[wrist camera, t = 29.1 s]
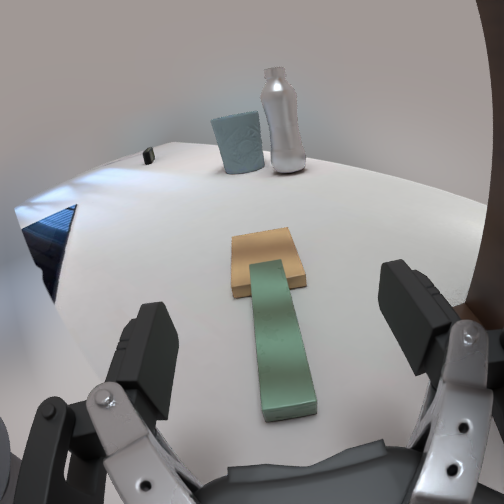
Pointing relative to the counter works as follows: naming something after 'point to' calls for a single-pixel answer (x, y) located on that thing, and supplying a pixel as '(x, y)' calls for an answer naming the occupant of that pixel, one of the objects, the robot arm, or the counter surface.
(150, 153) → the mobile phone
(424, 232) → the counter surface
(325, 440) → the counter surface
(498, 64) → the brown pedestal stand
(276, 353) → the spatula
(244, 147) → the blue-grey embossed cup
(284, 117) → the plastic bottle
